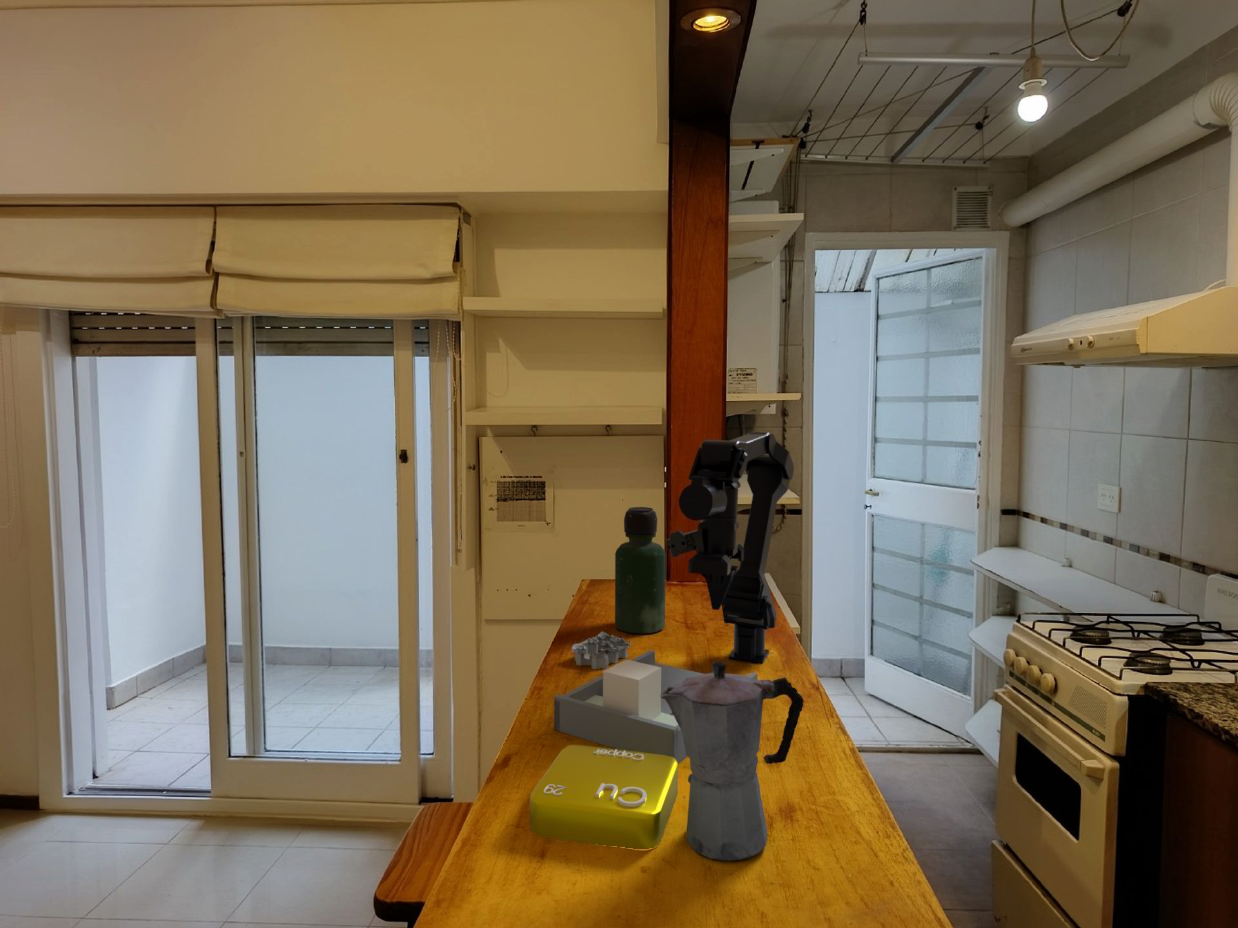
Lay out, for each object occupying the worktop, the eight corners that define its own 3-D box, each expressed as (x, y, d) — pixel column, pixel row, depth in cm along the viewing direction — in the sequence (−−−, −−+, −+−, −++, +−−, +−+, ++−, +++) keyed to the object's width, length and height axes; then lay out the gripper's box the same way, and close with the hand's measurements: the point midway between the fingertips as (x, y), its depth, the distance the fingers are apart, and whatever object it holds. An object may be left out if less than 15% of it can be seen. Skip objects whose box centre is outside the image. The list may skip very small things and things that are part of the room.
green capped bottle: (674, 629, 162) (676, 510, 159) (634, 638, 156) (634, 514, 153) (645, 617, 170) (646, 503, 168) (605, 625, 164) (605, 507, 162)
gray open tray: (649, 675, 135) (650, 647, 135) (756, 701, 124) (757, 670, 124) (554, 729, 113) (554, 696, 113) (674, 766, 102) (674, 729, 102)
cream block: (626, 705, 116) (626, 659, 115) (660, 714, 113) (661, 667, 112) (602, 718, 111) (603, 671, 110) (638, 729, 108) (638, 679, 107)
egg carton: (600, 673, 137) (600, 650, 137) (567, 664, 141) (567, 642, 141) (634, 656, 146) (634, 635, 145) (602, 648, 150) (602, 627, 150)
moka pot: (654, 817, 90) (655, 648, 88) (784, 812, 91) (789, 645, 89) (666, 867, 80) (667, 679, 79) (811, 861, 82) (816, 675, 80)
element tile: (680, 788, 97) (681, 751, 97) (656, 857, 83) (656, 814, 83) (566, 773, 101) (566, 738, 101) (524, 837, 87) (523, 796, 86)
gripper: (684, 508, 140) (681, 594, 141) (658, 517, 123) (654, 616, 123) (746, 512, 137) (742, 600, 138) (728, 522, 119) (724, 623, 120)
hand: (715, 609), depth 130 cm, fingers closed
